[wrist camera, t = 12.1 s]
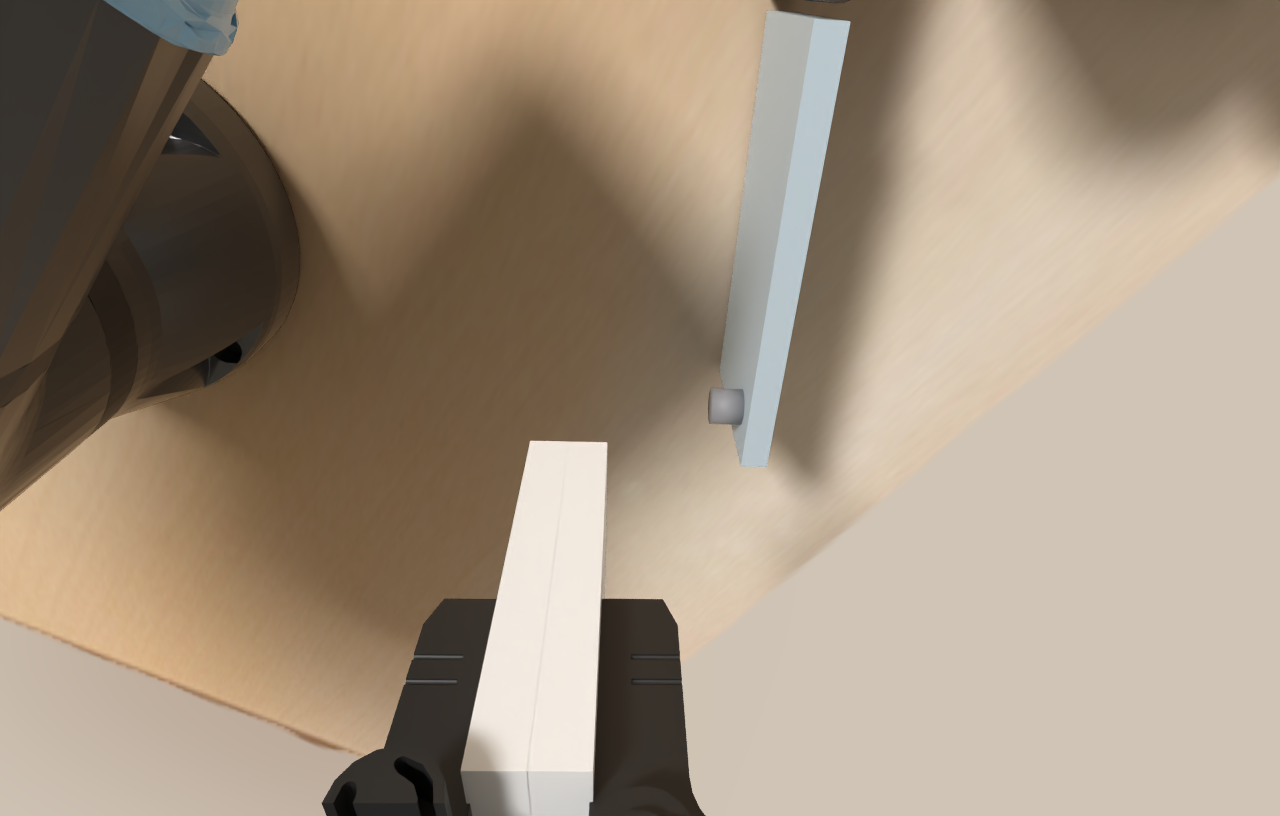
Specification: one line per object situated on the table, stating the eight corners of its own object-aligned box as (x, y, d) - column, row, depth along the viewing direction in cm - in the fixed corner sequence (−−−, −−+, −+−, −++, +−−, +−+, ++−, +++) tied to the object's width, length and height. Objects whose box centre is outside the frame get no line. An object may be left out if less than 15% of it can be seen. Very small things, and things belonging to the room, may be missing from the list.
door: (734, 8, 25) (770, 16, 18) (794, 11, 25) (850, 21, 19) (694, 370, 33) (709, 465, 26) (740, 372, 33) (766, 467, 26)
